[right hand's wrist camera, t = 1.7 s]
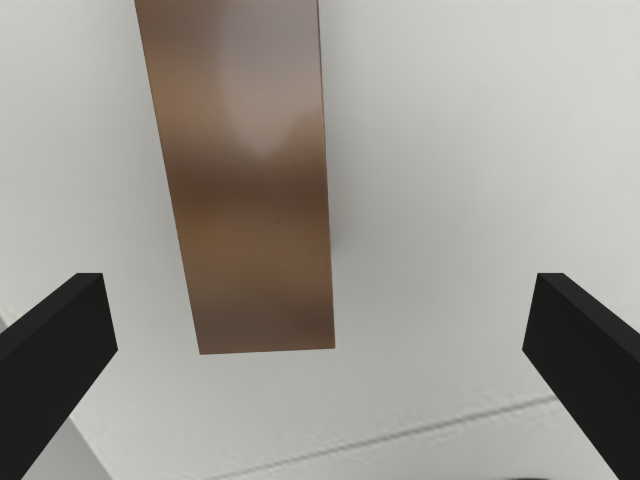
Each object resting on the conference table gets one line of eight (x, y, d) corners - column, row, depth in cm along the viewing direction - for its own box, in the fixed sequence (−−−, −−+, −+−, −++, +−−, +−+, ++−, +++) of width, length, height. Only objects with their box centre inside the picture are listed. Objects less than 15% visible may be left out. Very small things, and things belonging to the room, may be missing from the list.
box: (330, 254, 29) (335, 348, 19) (242, 258, 29) (199, 355, 19) (304, -255, 20) (287, -618, 10) (176, -245, 20) (23, -593, 10)
